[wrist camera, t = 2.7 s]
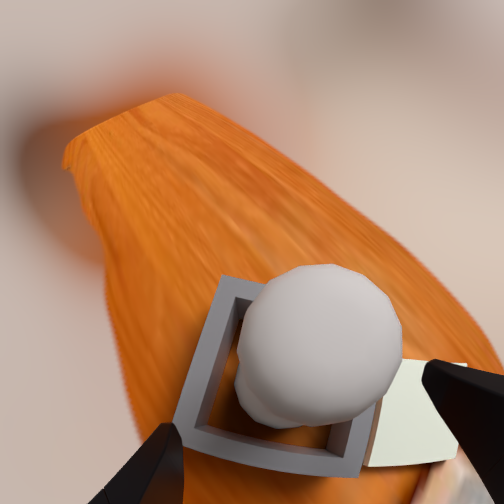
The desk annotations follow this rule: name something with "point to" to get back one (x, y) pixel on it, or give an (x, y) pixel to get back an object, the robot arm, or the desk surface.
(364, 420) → the frame
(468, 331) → the desk surface
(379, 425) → the pad
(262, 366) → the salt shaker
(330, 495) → the desk surface
